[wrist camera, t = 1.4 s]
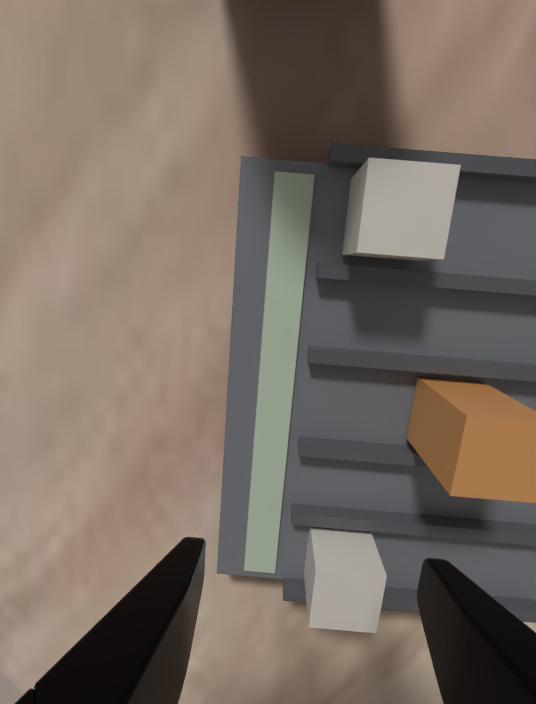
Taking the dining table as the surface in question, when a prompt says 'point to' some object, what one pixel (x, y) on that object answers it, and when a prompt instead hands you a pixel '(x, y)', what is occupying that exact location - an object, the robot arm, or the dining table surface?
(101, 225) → the dining table surface
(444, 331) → the board
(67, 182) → the dining table surface
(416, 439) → the handle
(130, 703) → the robot arm
